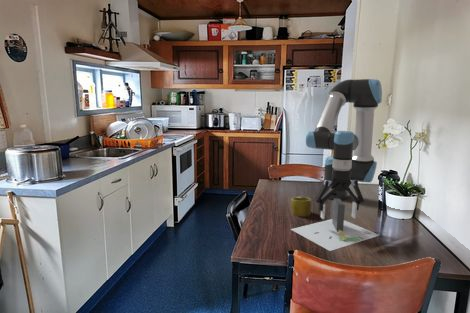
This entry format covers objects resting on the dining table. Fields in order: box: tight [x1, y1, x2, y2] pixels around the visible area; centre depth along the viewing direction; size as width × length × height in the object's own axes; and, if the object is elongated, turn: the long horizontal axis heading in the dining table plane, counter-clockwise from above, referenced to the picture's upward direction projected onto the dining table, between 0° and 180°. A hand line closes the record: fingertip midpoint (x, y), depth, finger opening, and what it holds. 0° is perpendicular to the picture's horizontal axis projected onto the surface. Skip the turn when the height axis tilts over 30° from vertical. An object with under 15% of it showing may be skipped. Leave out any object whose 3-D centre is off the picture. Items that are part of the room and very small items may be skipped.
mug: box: [290, 196, 312, 217], centre depth 155 cm, size 12×10×10 cm
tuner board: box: [290, 218, 381, 252], centre depth 133 cm, size 28×22×1 cm
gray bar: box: [331, 198, 347, 240], centre depth 133 cm, size 18×3×11 cm, turn 174°
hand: (338, 217), depth 137 cm, fingers open, 13 cm apart
